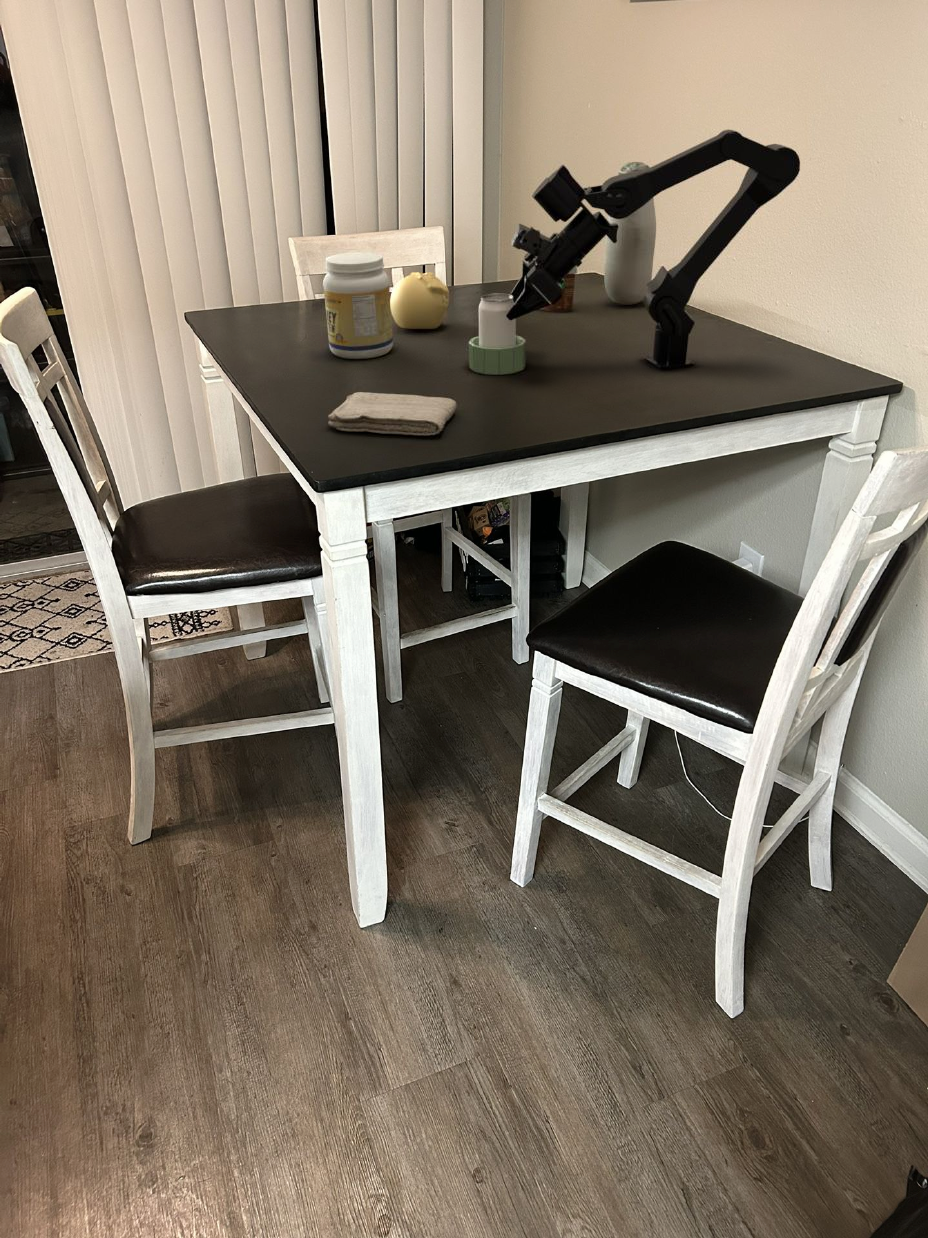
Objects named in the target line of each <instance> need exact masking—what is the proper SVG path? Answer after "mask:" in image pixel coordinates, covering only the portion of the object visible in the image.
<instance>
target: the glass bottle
mask: <svg viewBox="0 0 928 1238" xmlns="http://www.w3.org/2000/svg"><path fill="white" fill-rule="evenodd" d="M650 167H651V166H649V165H648V164H647V163H645V162H642V161H632V162H627V163H625V164H624V165H623V166H622V167H621V168H620V169H619V171H618V173H617V175H621V174H625V173H628V172H632V171H637V170H642V169H646V168H650ZM654 198H655V197H653V198H652V199H651V200H650V201H649V202H647V203H646V204H645V205H644V206H642V207H641V208H640V209H638V210H637V211H635V212H634V213H632V214H631V215H629V216H628V217H626V218H623V219H615V218H612V217H610V216H609V215H608V218H607V220H608V222H609V223H610V224H614V223H617V224H618V226H619V228H618V231H617V242H616V243H613V242H612V241H611V240H610V239H609V238H608V236H607V235H606V236H605V254H604V275H603V276H604V279H603V280H604V288H605V289H604V290H605V292H606V294H607V296H608V298H609V300H611V301H612V302H614V303H616V304H618V305H621V306H632V305H636V304H638V303H640V302H641V301H643V300H644V295H645V292H646V291H647V289H648V287H647V285H646V284H647V283H649V282H650V281H652V280H653V279H652V278H653V268H654V256H655V248H656V237H657V217H656V208H655V207H656V206H655V201H654Z"/></svg>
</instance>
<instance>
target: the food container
mask: <svg viewBox="0 0 928 1238" xmlns="http://www.w3.org/2000/svg"><path fill="white" fill-rule="evenodd" d="M576 274H578V267H577V266H575V267H574V268H573V269H572V270H571V271H570V272H569V273H568V274H567V275H566V276H565V277H564V278H563V279H564V282H563V283H562V284H561V286H562V297H561V298H560V299H559V300H558V301H557V302H556V303H555V304H554V305H553V304H551V305H550V306H546V307H544V308H541V309H540V310H542V311H545V312H554V313H564V312H572V311H573V304H574V293H575V292H574V291H575V283H576V281H575V280H576ZM550 303H551V302H550Z"/></svg>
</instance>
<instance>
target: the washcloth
mask: <svg viewBox="0 0 928 1238" xmlns="http://www.w3.org/2000/svg"><path fill="white" fill-rule="evenodd" d="M457 406H458V405H457V402H456V401H455V400H454V399H452V398H448V397H440V396H439V397H438V396H424V395H419V394H418V395H416V394H402V393H401V394H396V393H384V392H383V393H380V392H379V393H378V392H368V391H367V392H362V391H358V392H354V393H353V394H349V395H347V396H346V400H345V401H344V402H343V403H342V404H340V405H339V406H338V407H336V408H335V409H334V410H333V411H332V412H331V413H330V414H328V415H327V418H328V420H329V421H328V426H330V427H331V428H335V429H336V430H337V431H338V430H339V431H343V432H369V433H376V434H388V435H404V436H405V435H406V436H436V435H438V434H440V433H441V432H442V431H443V429H444V428H445V425H446V423H447V422H448V421H450V419H451V418H452V416H453V415H454V413H455V412H456V409H457Z"/></svg>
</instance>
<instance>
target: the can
mask: <svg viewBox="0 0 928 1238" xmlns="http://www.w3.org/2000/svg"><path fill="white" fill-rule="evenodd" d="M513 305H514V301H513V296H512V295H510V293H509V294H508V293H499V292H498V293H497V292H496V293H488V294H484V295H481V296H480V302H479V305H478V336H479V346H481V347H485V348H506V347H513V346H516V336H517V318H515V319H513V320H509V319H508V318H507V317H506V315H507V313H508V312H509V310H510V309H511V307H512V306H513Z"/></svg>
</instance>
